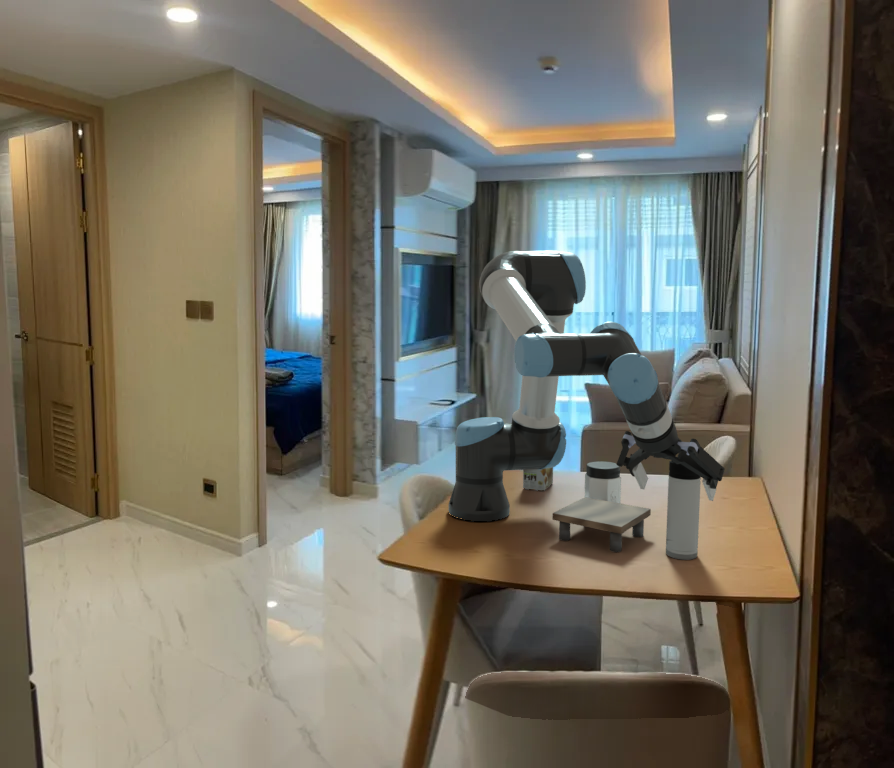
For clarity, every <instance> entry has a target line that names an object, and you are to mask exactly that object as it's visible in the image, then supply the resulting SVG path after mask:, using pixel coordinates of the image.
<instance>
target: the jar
mask: <svg viewBox="0 0 894 768" xmlns="http://www.w3.org/2000/svg"><path fill="white" fill-rule="evenodd" d="M585 468H586V470H585V471H586V472H585V473H584V497H588V498H593V499H599V500H605V501H610V502H616V503H621V498H622V497H621V495H622V488H621V486H622V477H621V476H620V475H621V467H620V466H618V465H617V462H611V461H598V460H597V461H590V462H588V463H586V467H585Z"/></svg>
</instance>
